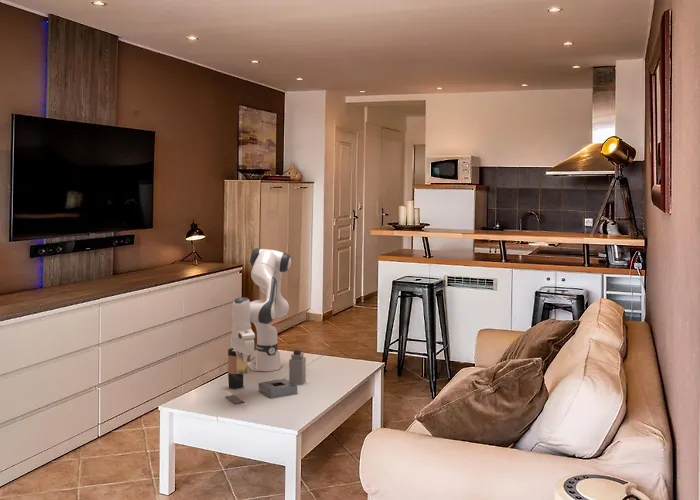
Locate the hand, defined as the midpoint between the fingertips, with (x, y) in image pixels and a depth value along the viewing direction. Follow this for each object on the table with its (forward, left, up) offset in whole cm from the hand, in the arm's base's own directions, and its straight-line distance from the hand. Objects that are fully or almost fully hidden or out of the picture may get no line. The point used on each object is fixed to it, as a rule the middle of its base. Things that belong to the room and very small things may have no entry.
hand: (241, 361), depth 317 cm
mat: (0, 0, -19) cm, 19 cm away
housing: (+2, +18, -19) cm, 26 cm away
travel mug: (-17, +4, -19) cm, 26 cm away
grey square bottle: (-8, +34, -19) cm, 40 cm away
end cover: (0, 0, -6) cm, 6 cm away
